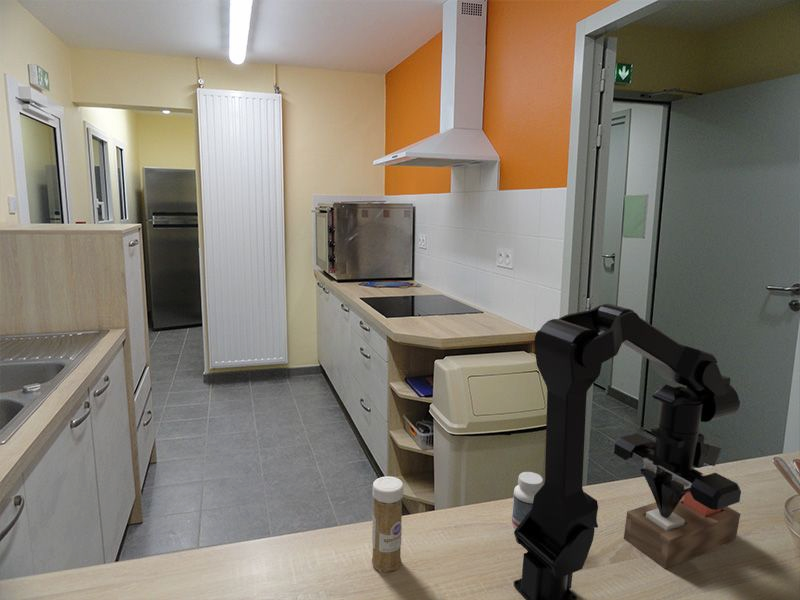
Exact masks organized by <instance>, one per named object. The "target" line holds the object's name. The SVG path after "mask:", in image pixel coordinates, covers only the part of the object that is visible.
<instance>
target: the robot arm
mask: <svg viewBox="0 0 800 600" xmlns="http://www.w3.org/2000/svg"><path fill="white" fill-rule="evenodd" d="M599 333H600V334H599ZM534 335H535V337H534V342H533V345H534V353H535V359H536V360H535V361H536V367H537V369H538V371H539V373H540V375H541V377H542V380H543V381H544V384H545V386H546V393H547V394H546V427H545V428H546V429H545V430H546V431H545V459H544V460H545V463H544V465H545V467H544V483H543V486H542V487H541V488H540V489H539V490H538V491H537V493H536V494H535V495H534V500H533V506H532V509H531V510H530V511H529V513H528V514H527V515H526V517H525V518H524V519H523V521H522V522H521V523H520V524H519V526H518V527H517V528H515V530H514V532H513V533H514V534H513V535H514V537H515V541H516V543H517V544H518V545H520V546H522V548H524V549H525V550H526V551H527V552H525V553H523V557H522V559H523V560H522V571H521V578H520V579H516V580H514V581H513V587H514V588H515V589H516V590H517V591H518V592H519V594H521V595H522V596H523V597H524V598H525V600H578V597H577V595H576V594H575V593H573V592H572V591H571V590H570V589H572V584H573V583H572V582H573V574H574V573H577V572H578V571H581V570H583V568H584V566H585V563H586V561H587V557H588V555H589V552H590V550H591V547H592V544H593V541H594V538H595V528H598V527H599V524H598V521H597V519H598V518H597V517H598V511H599V503H598V499H595V498H594V497H593V496H591V495H589V493H586V492H585V491H584V489H583V479H584V478H583V477H584V476H583V475H584V458H585V456H584V455H585V454H584V453H585V440H586V439H585V435H586V413H587V395H588V394H587V393H588V391H589V389H590V388H591V387H592V386H593V384H594V383H595V382H596V381H597V379H598V378H599V377H600V375H601V371H602V365H603V363H605V362H606V361H609V360H611V359H612V358H614V357H615V356H617V355H618V353H619V351H620V349H621V347H622V344H623V345H625V346H626V347H628V348H629V349H631V350H633V351H635V352H636V353H638V354H640V355H641V356H643V357H645V358H646V359H648V360H649V361H650V362H651V367H652V369H653V370H654V371H655V372H656V373H657V374H658V375H659V376H660V377H662V378H664V379H665V380H668V381H671V382H674V383H676V384H678V385H679V386H672V385H669V384H664V385H663V386H662V387H661V388H659V389H658V390H656V391H655V392H654V393H653V394H652V398H653V399H654V400H657V401H659V402H660V405H659V413H658V420H657V425H656V426H657V427H653V428H651V431H650V435H651V436H652V437H654V438H655V441H654V440H653V439H650V438H648V437H646V436H644V435H643V434H640V433H639V432H637V433H633V434H628V435H625V436H621V437H618V438H617V439H616V440H615V442H614V446H613V454H614V455H616V456H617V457H619V458H621V459H622V460H624V461H629V460H630V459H633V458H634V457H633V456H634V454H635V455H637V456H639V457H641V458H643V459H642V460H643V462H644V464H643V467H642V468H641V469H640V470H639V471H640V474H641V475H642V476H644V479H645V480H646V483H647V485H648V488H650V492H651V494H652V496H653V498H654V500H655V502H656V504H657V506H658V509H659V512H660V514H661V516H663V517H664V518H667V517H669V516H670V515H671V513H672V512H673V510H674V509H675V507H676V506H677V504H678V503H679V501H680V500H681V499H682V497H683V496H684V495H685V494H686V493H687V492H690V493H691V495H692V497H693V499H694V500H696V501H698V502H699V503H701V504H703V505H704V506H706V507H708V508H710V509H713V510H718V509H721V508H724V507H727V506H728V507H729V506H732V505H735V504H737V503H740V501H741V494H742V491H741V487H740V486H739V484H738V483H737V482H735V481H733V480H731V479H729V478H728V477H724V476H723V475H721V474H720V473H717V472H712V473H709V474H705V475H706V476H703V474H704V473H703V472H701V471H699V470H697V469H700V468H703V467H704V464H708V465H710V466H712V467H715V466H716V464H717V462H718V459H719V456H720V453H721V451H722V447H720V446H719V445H716V444H715V443H712V442H710V441H708V440H706V439H705V435H704V434H703V433H700V427H701V422H703V423H708V422H712V421H717V420H719V419H723V418H727V417H730V416H733V415H735V414H736V413H737V412H738V411H739V409H740V406H741V401H740V398H739V395H738V392H737V390H736V389H735V388H734V387H733V386H732V385H730V384H731V377H729V376H726V375H723V374H721V372H720V368H719V366H718V364H717V363H718V360H717V358H716V356H715V355H714V354H713V353H709V352H706V351H704V350H700V349H697V348H693V347H690V346H687V345H684V344H680V343H679V342H677V341H676V340H675V339H673V338H672V337H670V336H668V335H667V334H665V333H664V332H662V331H661V330H659V329H658V328H656V327H655V326H654V325H653V324H651V323H649V322H647V321H646V320H645V319H643V318H642V317H640V316H639V314H638V313H637V312H635V311H634V310H633V309H630V308H626V307H624V306H623V307H622V306H619V305H615V304H612V303H605V304H601V305H598V306H596V307H594V308H592V309H590V310H589V309H588V310H584V311H583V310H582V311H579V312H574V313H573V312H572V313H570V314H566V315H563V316H561V317H559V318H552V319H549V320H548V321H546V322H545V323H544V324H543V325H542V326H541V327H540V329H539V330H536V333H535V334H534ZM680 385H682V386H680ZM695 468H697V469H695Z"/></svg>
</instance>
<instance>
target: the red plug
mask: <svg viewBox="0 0 800 600" xmlns="http://www.w3.org/2000/svg"><path fill="white" fill-rule="evenodd" d="M706 475H707V474H704V473H703V476H706ZM683 504H684V505H686V506H687V507H689V508H691V509H692V510H694V511H696V512H697V513H699V514H701V515H702V516H704V517H709V516H711V515H714V514H717V513H720V512H721V509H718V510H713V509H710V508H708V507H706V506H704V505H703V504H701V503H699V502H698V501H696V500H694V499H693V497H692V495H691V493H690V492H687V493H686V494H685V495H684V502H683Z"/></svg>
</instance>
